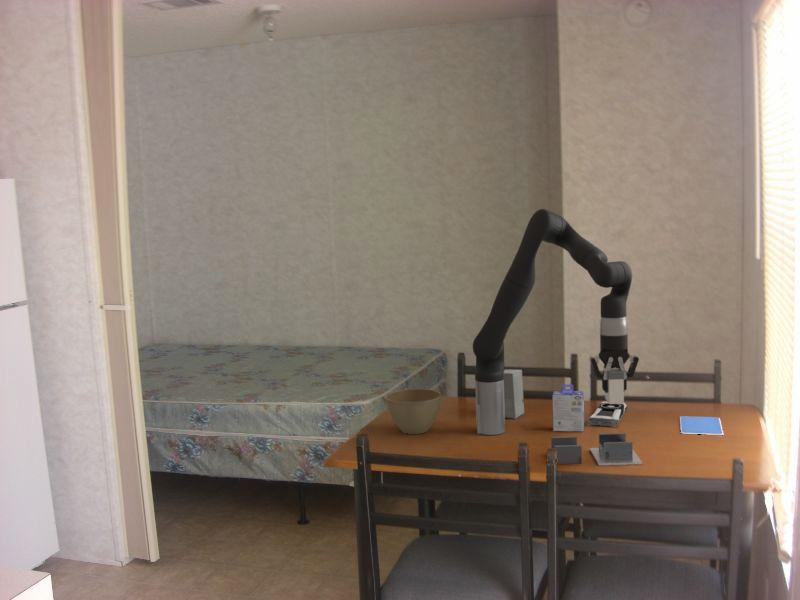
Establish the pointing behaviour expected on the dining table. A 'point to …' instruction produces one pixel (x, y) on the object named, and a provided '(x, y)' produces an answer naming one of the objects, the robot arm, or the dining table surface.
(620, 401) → the plug
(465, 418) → the dining table surface
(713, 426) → the tablet computer
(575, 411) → the ink cartridge box
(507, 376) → the skincare box
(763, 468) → the dining table surface
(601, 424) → the graphics card
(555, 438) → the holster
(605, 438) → the block
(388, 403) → the flower pot
